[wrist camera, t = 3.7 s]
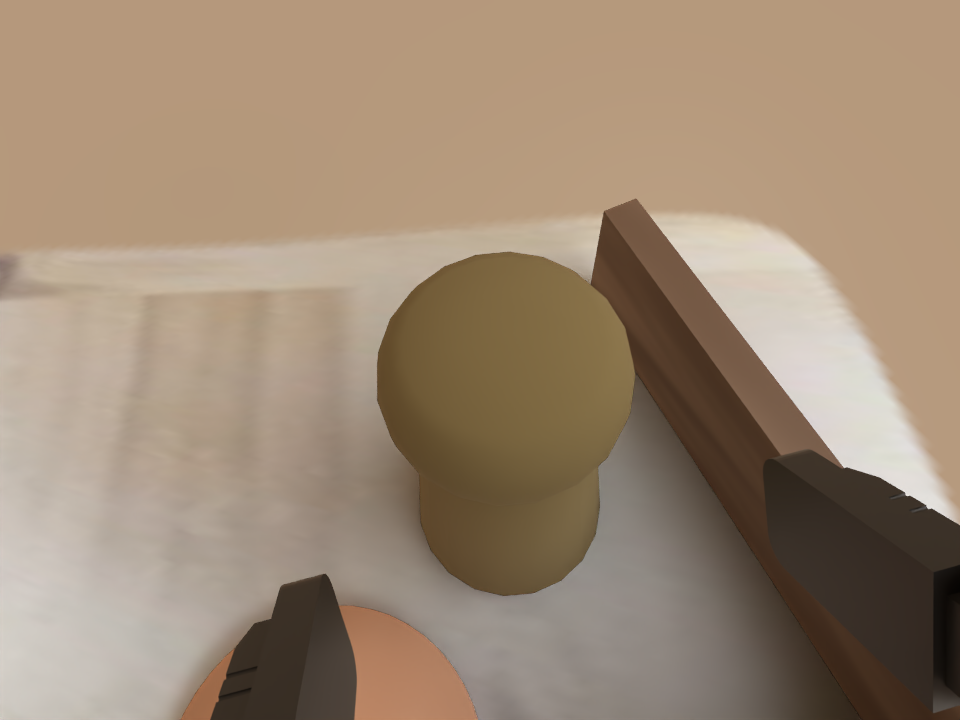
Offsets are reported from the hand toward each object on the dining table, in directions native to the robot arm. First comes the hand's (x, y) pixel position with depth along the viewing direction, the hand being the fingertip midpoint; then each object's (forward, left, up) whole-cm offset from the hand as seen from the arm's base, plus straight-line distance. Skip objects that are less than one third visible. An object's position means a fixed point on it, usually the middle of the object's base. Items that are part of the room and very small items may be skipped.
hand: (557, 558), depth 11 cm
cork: (+1, +4, -9) cm, 10 cm away
